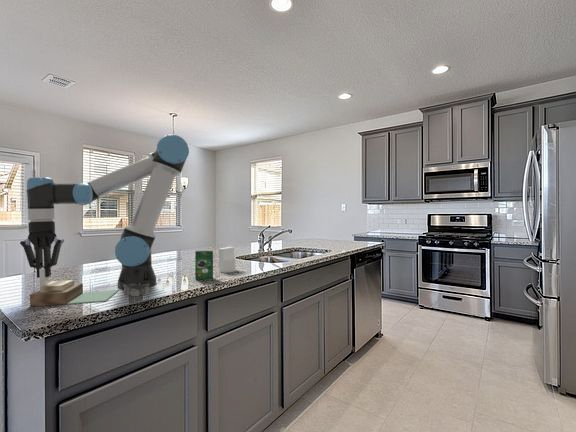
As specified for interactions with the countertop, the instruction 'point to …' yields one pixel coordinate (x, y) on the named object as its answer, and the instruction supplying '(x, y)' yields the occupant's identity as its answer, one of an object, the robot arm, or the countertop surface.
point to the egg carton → (136, 289)
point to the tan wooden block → (56, 296)
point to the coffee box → (203, 265)
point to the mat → (94, 296)
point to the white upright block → (226, 260)
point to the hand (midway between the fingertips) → (44, 286)
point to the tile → (57, 286)
